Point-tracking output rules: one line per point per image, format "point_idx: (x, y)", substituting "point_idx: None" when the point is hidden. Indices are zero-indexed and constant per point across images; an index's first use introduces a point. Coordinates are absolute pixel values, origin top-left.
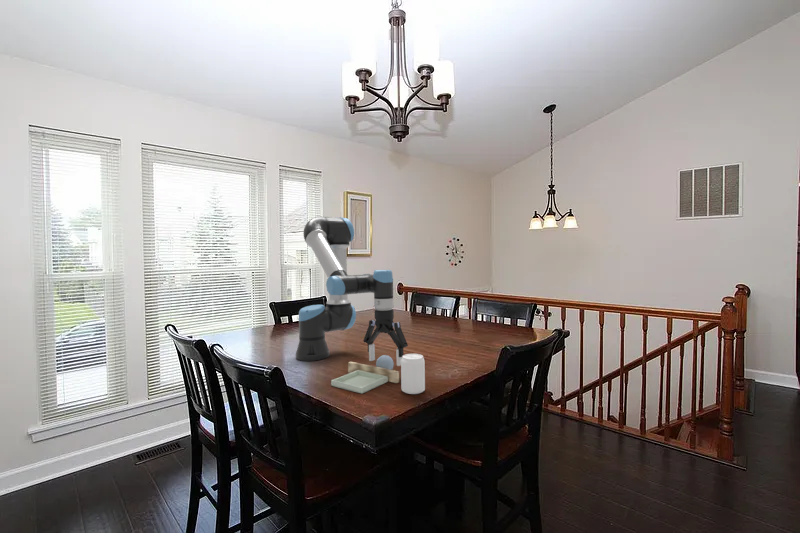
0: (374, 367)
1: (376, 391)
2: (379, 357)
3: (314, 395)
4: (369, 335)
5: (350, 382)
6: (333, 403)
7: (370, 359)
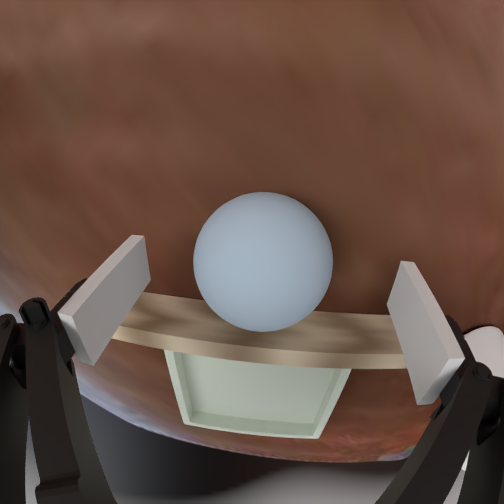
0: (261, 360)
1: (352, 402)
2: (223, 316)
3: (211, 445)
4: (13, 399)
5: (222, 392)
6: (286, 456)
7: (144, 287)
